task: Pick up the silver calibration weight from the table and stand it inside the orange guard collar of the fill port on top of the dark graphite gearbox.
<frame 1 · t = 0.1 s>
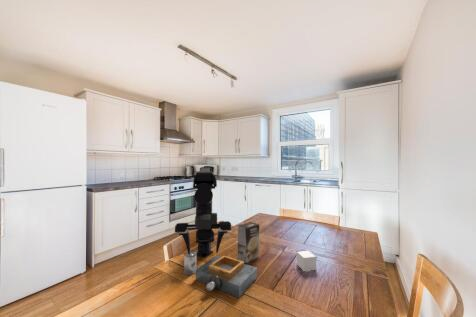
hand: (203, 253, 67), 15 cm above the table, tool pointing down, fingers open, 9 cm apart
adhesive note: (306, 268, 88), on the table
silver calibration weight: (190, 271, 84), on the table
gearbox: (226, 278, 79), on the table
coffee box: (248, 258, 96), on the table
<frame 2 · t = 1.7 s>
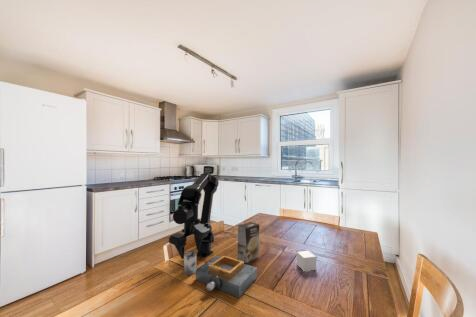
hand: (190, 254, 84), 7 cm above the table, tool pointing down, fingers open, 9 cm apart
nothing on the table moved.
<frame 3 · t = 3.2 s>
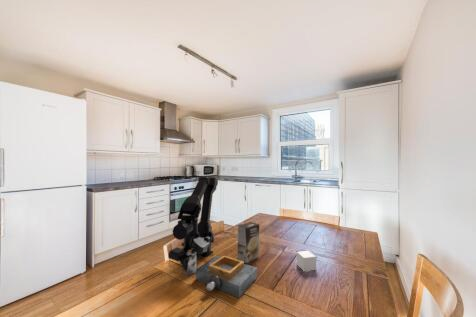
hand: (190, 267, 84), 2 cm above the table, tool pointing down, fingers closed on silver calibration weight, 5 cm apart
silver calibration weight: (190, 271, 84), on the table, touching gripper
everything else where it was.
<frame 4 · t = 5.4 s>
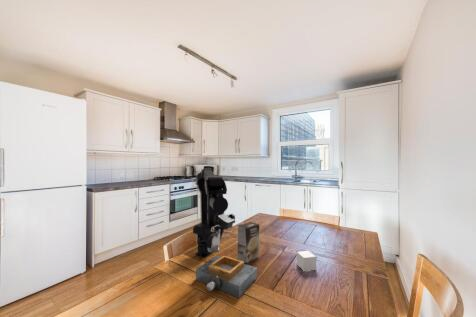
hand: (214, 246, 80), 12 cm above the table, tool pointing down, fingers closed on silver calibration weight, 5 cm apart
silver calibration weight: (213, 249, 80), point 11 cm above the table, touching gripper
everything else where it was.
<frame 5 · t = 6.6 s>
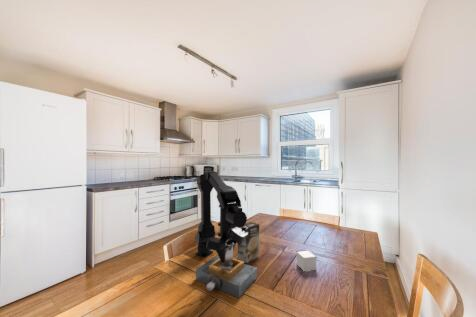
hand: (226, 259, 79), 8 cm above the table, tool pointing down, fingers closed on silver calibration weight, 5 cm apart
silver calibration weight: (226, 263, 79), point 6 cm above the table, touching gripper
everything else where it was.
when the fingers open (7 cm above the table, at t = 7.5 s): silver calibration weight drops 1 cm, resting on gearbox.
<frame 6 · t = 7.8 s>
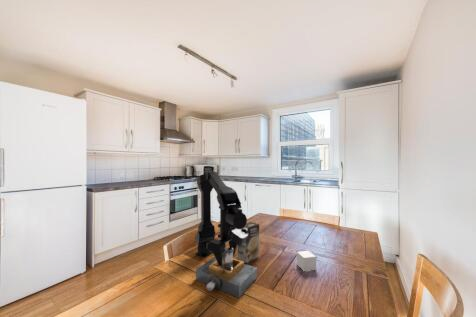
hand: (226, 260, 79), 7 cm above the table, tool pointing down, fingers open, 8 cm apart
silver calibration weight: (226, 268, 79), point 4 cm above the table, touching gearbox
everything else where it was.
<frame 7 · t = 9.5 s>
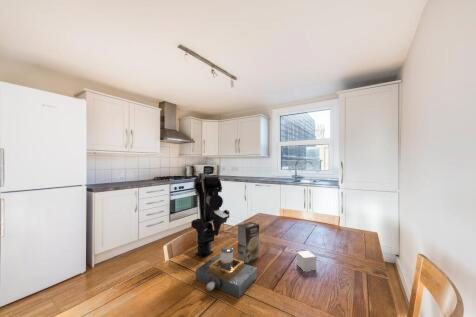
hand: (210, 238, 89), 12 cm above the table, tool pointing down, fingers open, 9 cm apart
nothing on the table moved.
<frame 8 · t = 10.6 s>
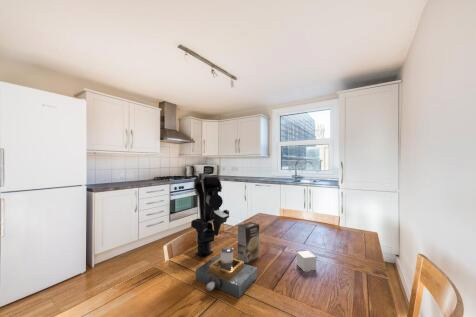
hand: (210, 238, 89), 12 cm above the table, tool pointing down, fingers open, 9 cm apart
nothing on the table moved.
at the end: silver calibration weight 0.0 cm off-centre on the gearbox, point 4.0 cm above the gearbox's base; silver calibration weight tilted 1°; the gripper is holding nothing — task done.
